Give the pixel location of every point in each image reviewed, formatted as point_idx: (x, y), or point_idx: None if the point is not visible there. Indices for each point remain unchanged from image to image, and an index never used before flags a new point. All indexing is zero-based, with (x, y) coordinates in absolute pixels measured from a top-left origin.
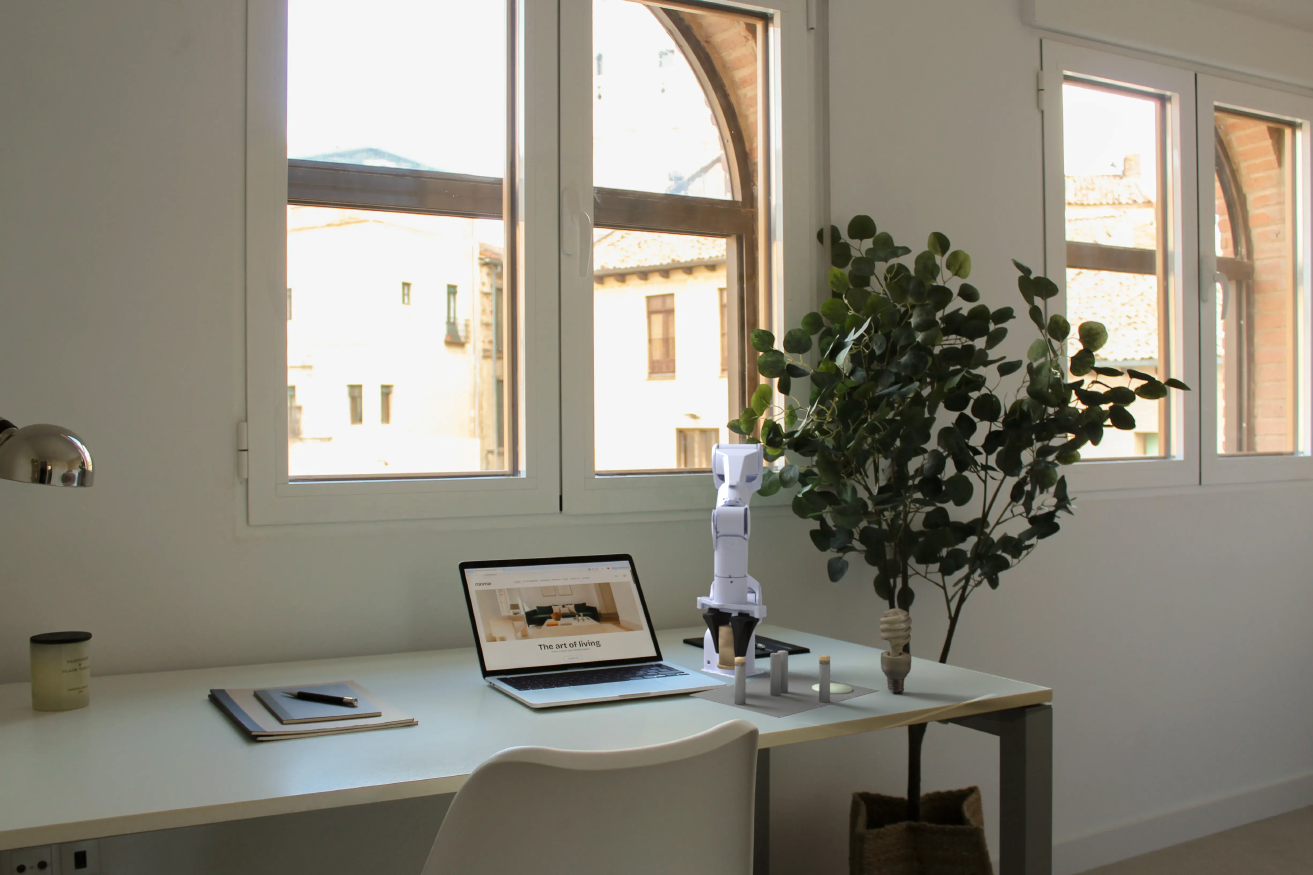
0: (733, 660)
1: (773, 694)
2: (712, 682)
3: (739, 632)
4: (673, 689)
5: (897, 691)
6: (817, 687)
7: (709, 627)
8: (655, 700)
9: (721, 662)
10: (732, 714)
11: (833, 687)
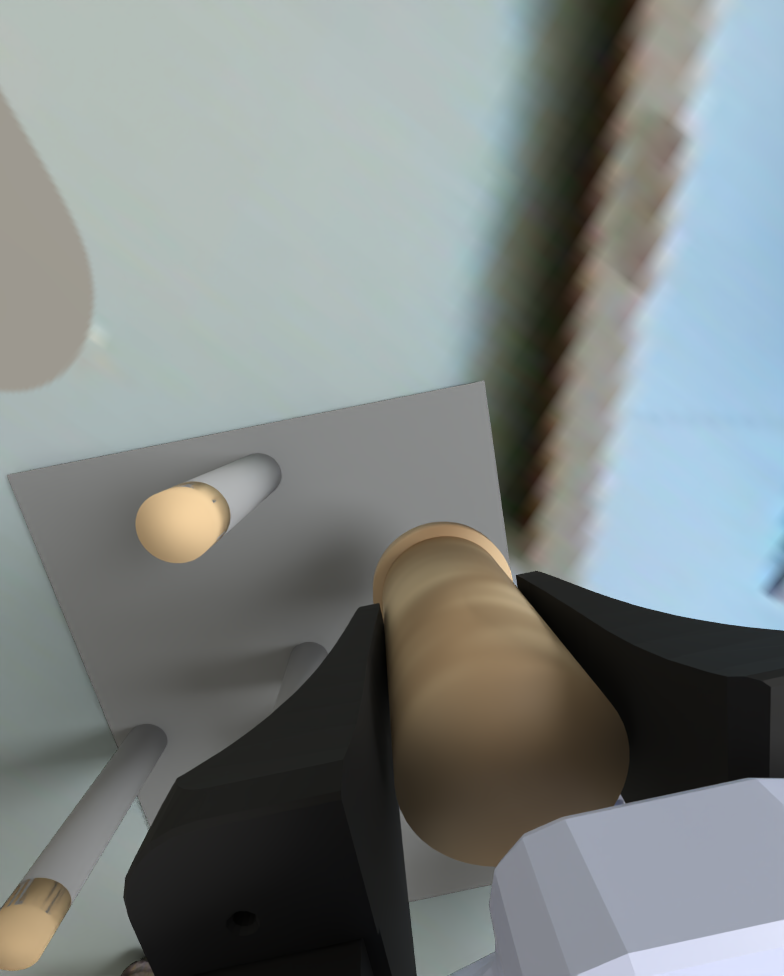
0: (389, 588)
1: (298, 647)
2: (615, 594)
3: (277, 711)
4: (619, 404)
5: (123, 971)
6: None
7: (679, 622)
8: (515, 225)
9: (443, 539)
10: (165, 370)
11: None
